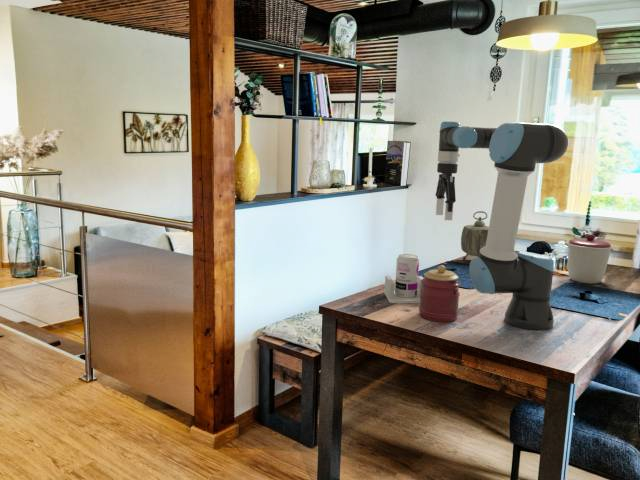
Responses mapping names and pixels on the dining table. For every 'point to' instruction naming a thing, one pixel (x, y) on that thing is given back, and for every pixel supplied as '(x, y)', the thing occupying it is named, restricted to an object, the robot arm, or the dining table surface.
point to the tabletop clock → (474, 237)
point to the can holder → (394, 298)
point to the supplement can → (407, 275)
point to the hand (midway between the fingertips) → (443, 217)
